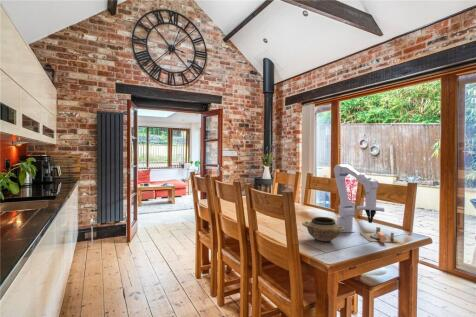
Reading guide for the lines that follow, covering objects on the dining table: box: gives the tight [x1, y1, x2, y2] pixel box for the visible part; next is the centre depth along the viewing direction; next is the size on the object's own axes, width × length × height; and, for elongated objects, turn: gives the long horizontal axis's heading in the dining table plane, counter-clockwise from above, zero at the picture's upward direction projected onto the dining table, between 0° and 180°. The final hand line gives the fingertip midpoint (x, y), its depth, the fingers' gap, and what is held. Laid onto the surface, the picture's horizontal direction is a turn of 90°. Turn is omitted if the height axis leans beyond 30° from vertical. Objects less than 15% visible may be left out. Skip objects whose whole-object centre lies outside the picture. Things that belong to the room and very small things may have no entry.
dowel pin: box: [390, 231, 395, 240], centre depth 163 cm, size 2×2×4 cm
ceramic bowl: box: [301, 216, 345, 245], centre depth 160 cm, size 24×18×15 cm
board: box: [359, 226, 399, 244], centre depth 168 cm, size 16×15×6 cm
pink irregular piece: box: [370, 231, 386, 244], centre depth 165 cm, size 15×9×4 cm, turn 166°
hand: (370, 222), depth 164 cm, fingers closed
